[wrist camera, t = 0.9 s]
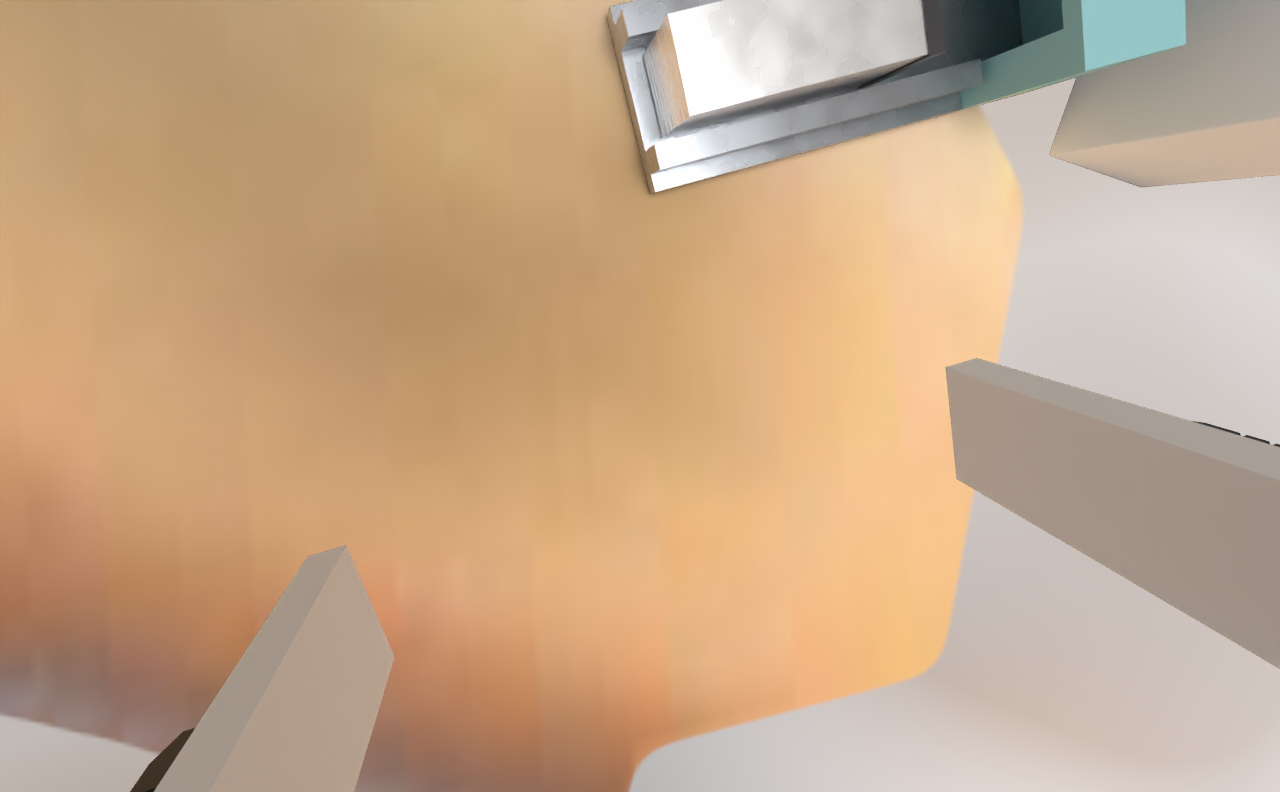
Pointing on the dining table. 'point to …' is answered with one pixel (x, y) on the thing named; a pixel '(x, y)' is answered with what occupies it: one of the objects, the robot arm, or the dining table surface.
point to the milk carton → (1185, 104)
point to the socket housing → (1078, 42)
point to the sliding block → (781, 54)
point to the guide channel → (973, 30)
